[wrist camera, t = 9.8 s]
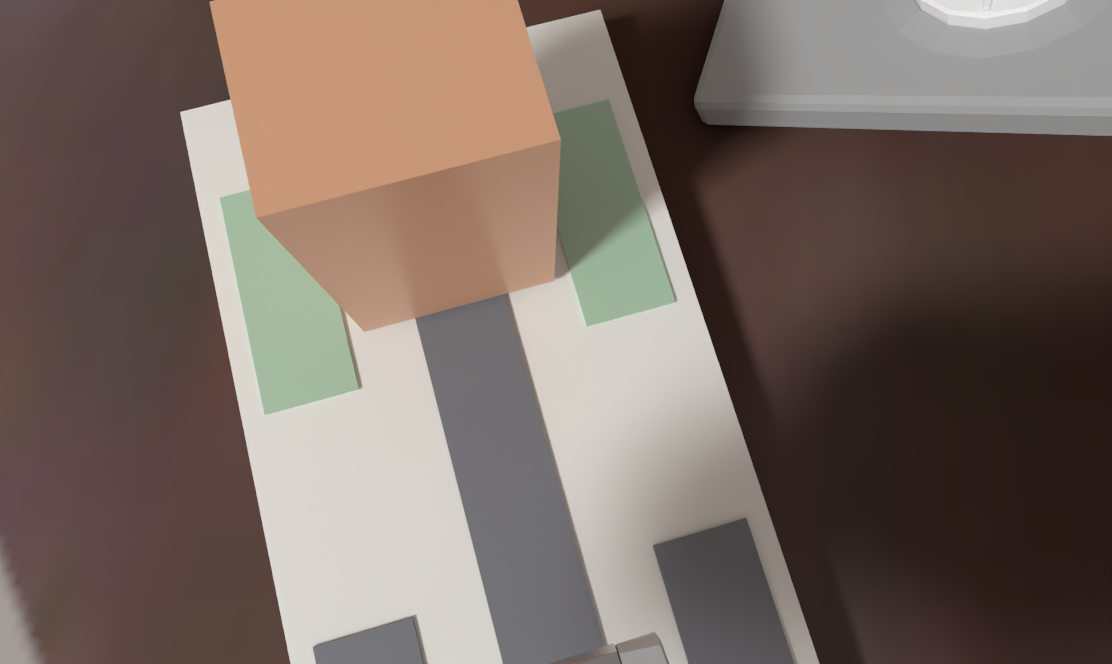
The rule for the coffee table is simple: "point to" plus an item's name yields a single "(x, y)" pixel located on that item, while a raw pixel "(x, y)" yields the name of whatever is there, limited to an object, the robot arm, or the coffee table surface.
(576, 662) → the robot arm
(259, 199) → the tan rectangular block
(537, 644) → the switch board
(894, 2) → the light switch
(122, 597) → the coffee table surface
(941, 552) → the coffee table surface
